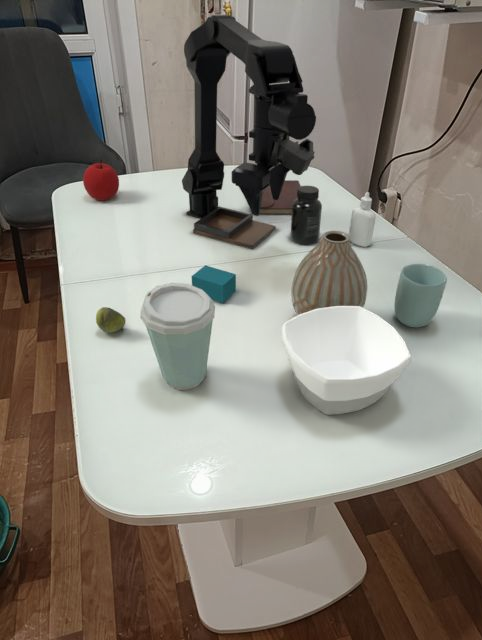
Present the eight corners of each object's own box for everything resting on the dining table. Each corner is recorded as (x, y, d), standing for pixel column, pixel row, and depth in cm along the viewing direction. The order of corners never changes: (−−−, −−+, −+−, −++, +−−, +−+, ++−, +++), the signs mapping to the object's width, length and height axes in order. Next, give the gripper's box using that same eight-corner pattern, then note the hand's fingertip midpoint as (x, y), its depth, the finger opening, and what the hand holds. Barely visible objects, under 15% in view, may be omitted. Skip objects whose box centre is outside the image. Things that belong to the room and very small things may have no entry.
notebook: (298, 185, 147) (299, 179, 146) (309, 214, 132) (309, 207, 130) (246, 185, 146) (247, 178, 145) (251, 214, 131) (251, 206, 129)
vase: (305, 297, 101) (313, 213, 90) (369, 315, 96) (386, 229, 85) (277, 332, 91) (282, 242, 80) (346, 354, 87) (362, 262, 76)
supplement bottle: (318, 233, 123) (324, 184, 116) (318, 246, 118) (324, 196, 110) (290, 231, 124) (294, 182, 116) (288, 244, 118) (292, 193, 111)
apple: (89, 190, 139) (82, 153, 133) (123, 190, 140) (117, 153, 134) (83, 204, 132) (76, 165, 126) (119, 204, 133) (113, 165, 127)
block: (223, 303, 98) (222, 285, 95) (192, 293, 100) (191, 276, 98) (236, 291, 101) (236, 274, 99) (206, 282, 104) (205, 265, 101)
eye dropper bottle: (363, 236, 123) (371, 187, 115) (372, 247, 118) (381, 197, 111) (346, 237, 122) (353, 188, 114) (354, 248, 118) (362, 198, 110)
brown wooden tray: (193, 233, 121) (192, 223, 119) (219, 215, 130) (218, 205, 128) (252, 249, 116) (252, 239, 114) (275, 229, 124) (276, 219, 123)
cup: (409, 337, 91) (422, 289, 85) (382, 315, 97) (392, 268, 90) (442, 326, 94) (456, 279, 88) (414, 305, 100) (426, 259, 93)
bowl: (313, 442, 71) (320, 393, 65) (262, 365, 84) (264, 318, 78) (417, 408, 77) (432, 361, 71) (355, 341, 90) (363, 296, 84)
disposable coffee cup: (226, 362, 84) (224, 284, 75) (205, 407, 76) (201, 326, 67) (165, 352, 86) (156, 274, 76) (139, 394, 78) (125, 313, 68)
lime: (96, 326, 91) (92, 303, 88) (124, 321, 92) (120, 298, 89) (100, 341, 88) (95, 317, 84) (128, 335, 89) (125, 311, 86)
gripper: (289, 145, 83) (284, 233, 93) (328, 119, 97) (320, 199, 106) (229, 135, 87) (230, 221, 97) (275, 111, 100) (271, 189, 110)
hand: (266, 207), depth 102 cm, fingers open, 9 cm apart
